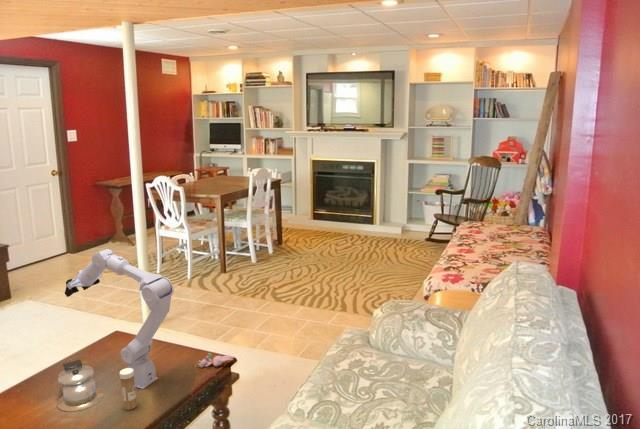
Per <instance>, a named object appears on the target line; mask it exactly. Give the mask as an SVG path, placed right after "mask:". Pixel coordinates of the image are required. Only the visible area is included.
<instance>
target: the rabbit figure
mask: <svg viewBox="0 0 640 429" xmlns="http://www.w3.org/2000/svg"><path fill="white" fill-rule="evenodd" d="M212 357H213V354H212V353H211V352H208V353H207V356H205V357H204V358H203V359H202V360H200V359H198V360H197V361H196V363H195V364H194V365H195V368H196V369H197V366H198V367H199V368H200V369H202V368H206V367H208V366H211V365H212V364H213V366H214V367H218V366H221V365H222V364H223V363H224V362H227V361H233V360H234V356H232V355H230V354H225V355H215V356H214V357H213V358H212ZM211 358H212V359H211Z"/></svg>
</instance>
